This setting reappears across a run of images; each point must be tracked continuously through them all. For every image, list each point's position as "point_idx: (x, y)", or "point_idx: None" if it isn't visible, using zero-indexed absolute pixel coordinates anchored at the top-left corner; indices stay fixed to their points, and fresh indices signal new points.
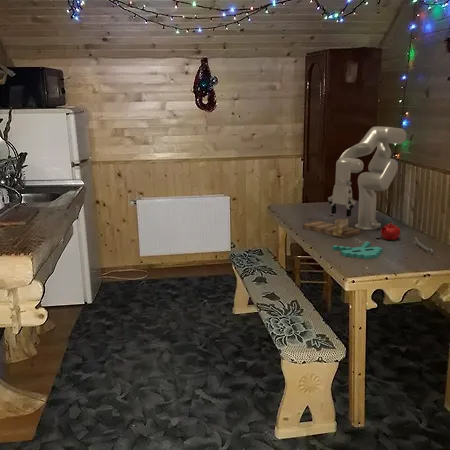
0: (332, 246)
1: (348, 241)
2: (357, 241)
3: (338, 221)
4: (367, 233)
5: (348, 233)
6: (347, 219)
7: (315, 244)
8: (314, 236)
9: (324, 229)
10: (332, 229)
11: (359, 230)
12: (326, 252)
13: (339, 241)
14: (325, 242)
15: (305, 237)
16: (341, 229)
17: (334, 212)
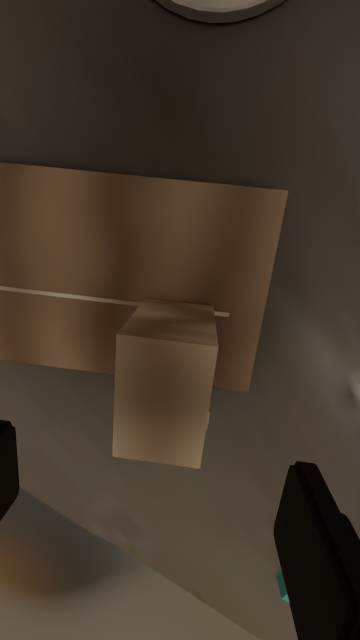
0: (282, 595)
1: (292, 427)
2: (347, 398)
3: (159, 457)
4: (337, 129)
5: (252, 363)
6: (212, 356)
7: (161, 553)
8: (54, 441)
9: (33, 362)
10: (88, 344)
11: (285, 194)
12: (278, 620)
13: (241, 454)
14: (182, 506)
15: (32, 481)
16: (208, 419)
17: (7, 468)
